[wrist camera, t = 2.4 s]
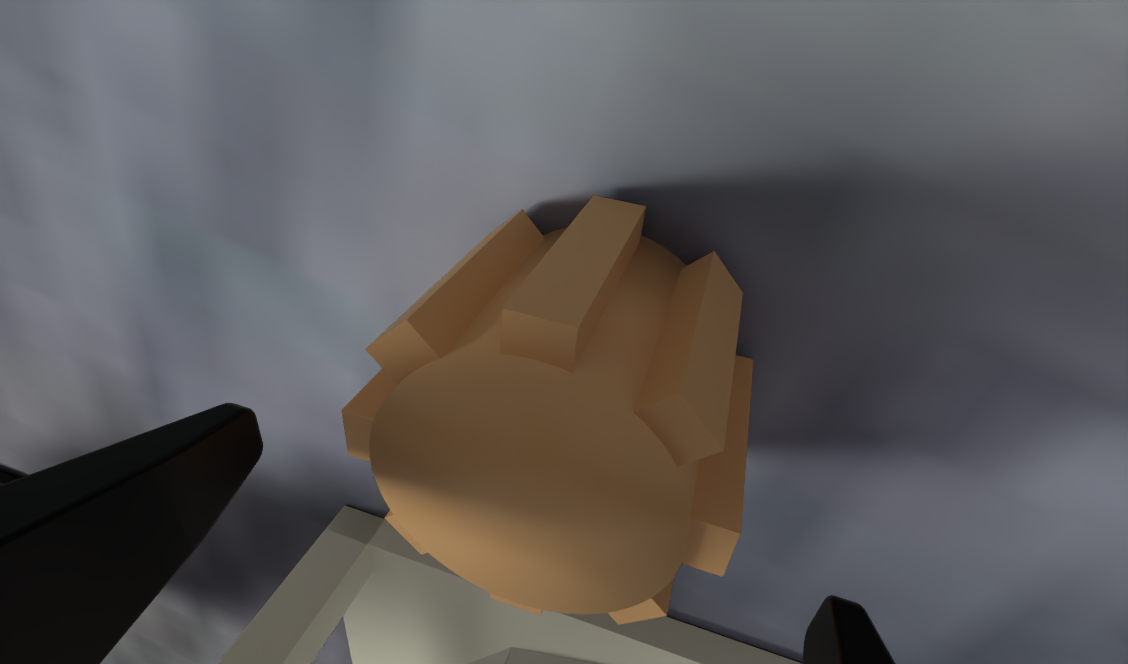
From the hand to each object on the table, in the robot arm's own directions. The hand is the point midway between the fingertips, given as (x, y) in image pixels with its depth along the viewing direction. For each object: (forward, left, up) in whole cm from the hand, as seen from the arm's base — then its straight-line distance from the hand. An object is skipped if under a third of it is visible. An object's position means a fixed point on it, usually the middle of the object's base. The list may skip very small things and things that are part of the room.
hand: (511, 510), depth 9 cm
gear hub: (0, 0, -5) cm, 5 cm away
